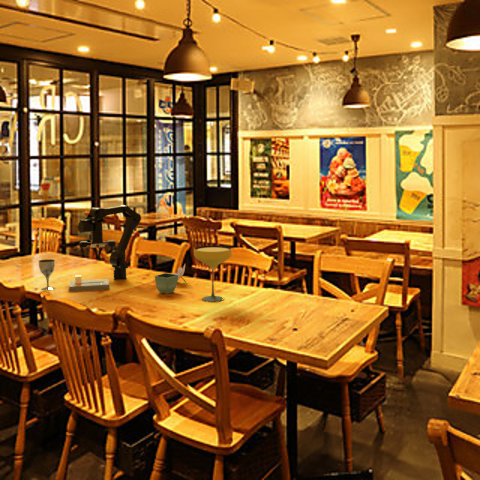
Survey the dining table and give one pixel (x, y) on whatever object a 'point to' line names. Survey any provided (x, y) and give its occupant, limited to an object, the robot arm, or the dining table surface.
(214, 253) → the cocktail glass
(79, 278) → the fader
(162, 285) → the flower pot
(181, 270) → the water lily
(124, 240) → the robot arm
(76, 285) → the console
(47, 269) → the wine glass
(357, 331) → the dining table surface
